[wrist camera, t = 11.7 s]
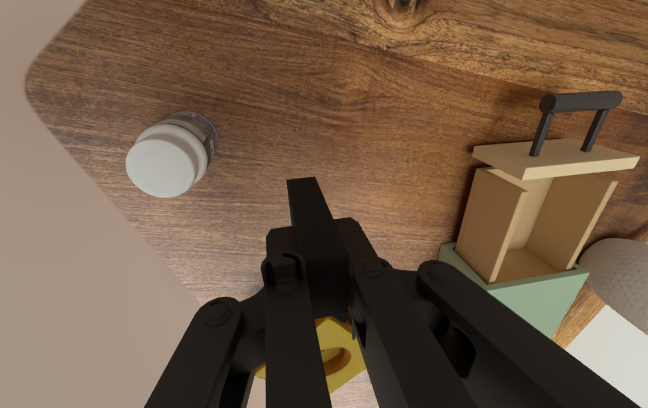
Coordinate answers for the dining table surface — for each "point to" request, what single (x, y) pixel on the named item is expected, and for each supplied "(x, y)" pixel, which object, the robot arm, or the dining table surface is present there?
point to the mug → (620, 277)
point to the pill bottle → (172, 154)
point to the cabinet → (529, 292)
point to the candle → (335, 350)
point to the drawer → (539, 196)
